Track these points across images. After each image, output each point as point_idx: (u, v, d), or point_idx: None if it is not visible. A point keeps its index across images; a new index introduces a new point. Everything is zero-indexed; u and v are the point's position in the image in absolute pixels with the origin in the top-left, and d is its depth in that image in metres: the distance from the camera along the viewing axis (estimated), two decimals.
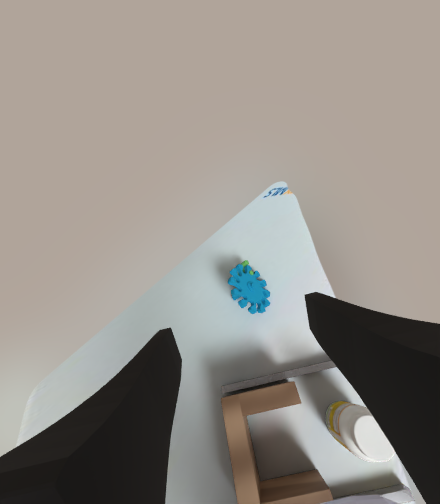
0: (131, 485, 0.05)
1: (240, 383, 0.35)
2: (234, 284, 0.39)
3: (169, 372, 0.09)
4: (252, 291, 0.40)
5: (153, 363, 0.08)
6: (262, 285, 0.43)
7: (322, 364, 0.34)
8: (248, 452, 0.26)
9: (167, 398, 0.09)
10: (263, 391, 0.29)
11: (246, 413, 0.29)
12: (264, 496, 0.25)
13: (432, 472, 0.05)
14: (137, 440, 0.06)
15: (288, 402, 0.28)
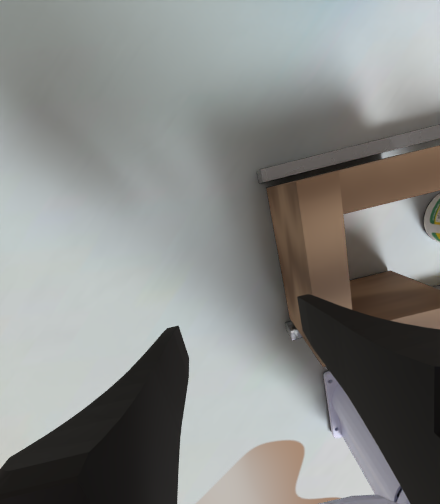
0: (146, 481, 0.05)
1: (301, 162, 0.17)
2: None
3: (178, 370, 0.09)
4: None
5: (163, 361, 0.08)
6: None
7: None
8: (346, 270, 0.14)
9: (176, 396, 0.09)
10: (400, 162, 0.12)
11: (352, 207, 0.13)
12: None
13: (416, 476, 0.05)
14: (150, 437, 0.06)
15: None
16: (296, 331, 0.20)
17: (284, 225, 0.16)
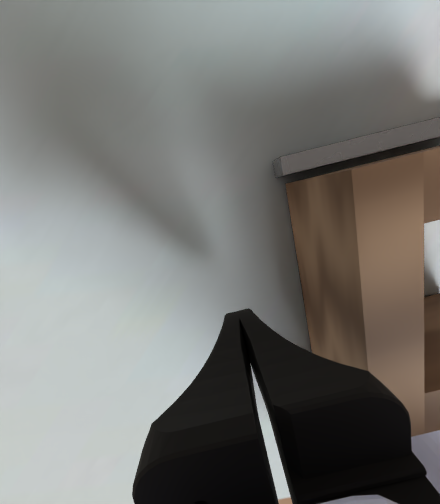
0: (265, 453, 0.05)
1: (337, 147, 0.12)
2: None
3: (246, 353, 0.09)
4: None
5: (241, 342, 0.08)
6: None
7: None
8: (420, 309, 0.09)
9: (250, 378, 0.09)
10: None
11: (439, 213, 0.08)
12: None
13: None
14: (255, 412, 0.06)
15: None
16: None
17: (315, 236, 0.11)
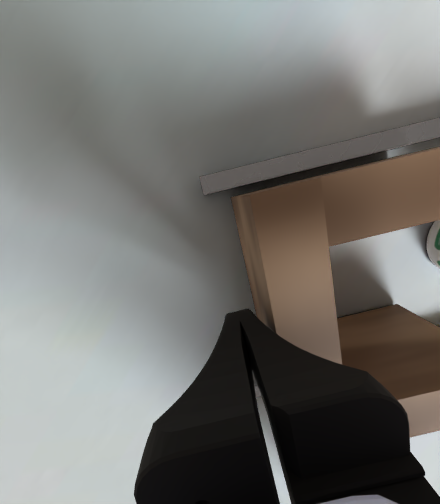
0: (266, 453, 0.05)
1: (256, 167, 0.12)
2: None
3: (247, 353, 0.09)
4: None
5: (242, 341, 0.08)
6: None
7: None
8: (334, 330, 0.09)
9: (251, 378, 0.09)
10: (423, 163, 0.07)
11: (343, 236, 0.08)
12: None
13: None
14: (257, 411, 0.06)
15: None
16: None
17: (248, 252, 0.11)
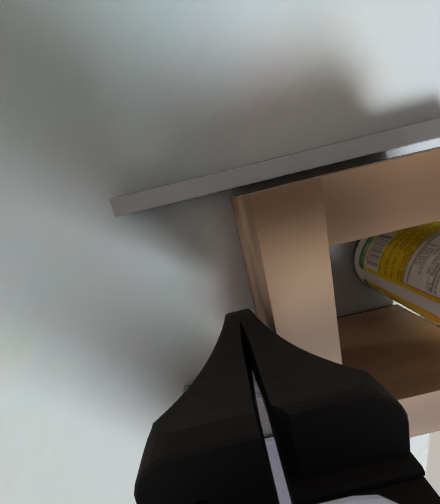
0: (266, 453, 0.05)
1: (166, 189, 0.12)
2: None
3: (247, 353, 0.09)
4: None
5: (242, 341, 0.08)
6: None
7: (401, 132, 0.12)
8: (334, 330, 0.09)
9: (251, 378, 0.09)
10: (423, 164, 0.07)
11: (343, 237, 0.08)
12: None
13: None
14: (257, 411, 0.06)
15: None
16: None
17: (248, 252, 0.11)
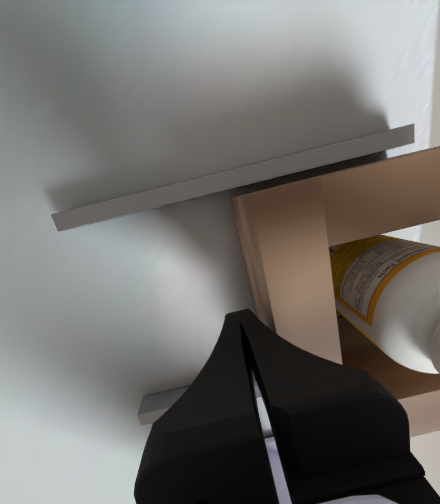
0: (266, 453, 0.05)
1: (107, 204, 0.12)
2: None
3: (247, 353, 0.09)
4: None
5: (242, 341, 0.08)
6: None
7: (341, 146, 0.12)
8: (334, 330, 0.09)
9: (251, 378, 0.09)
10: (422, 163, 0.07)
11: (343, 237, 0.08)
12: None
13: None
14: (256, 411, 0.06)
15: None
16: (145, 415, 0.16)
17: (248, 253, 0.11)
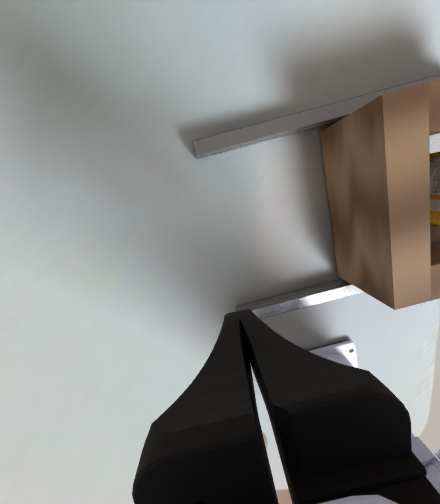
0: (265, 453, 0.05)
1: (234, 133, 0.16)
2: None
3: (246, 353, 0.09)
4: None
5: (241, 342, 0.08)
6: None
7: (411, 86, 0.16)
8: (427, 198, 0.13)
9: (250, 378, 0.09)
10: None
11: (439, 125, 0.12)
12: None
13: None
14: (256, 412, 0.06)
15: None
16: None
17: (347, 163, 0.15)
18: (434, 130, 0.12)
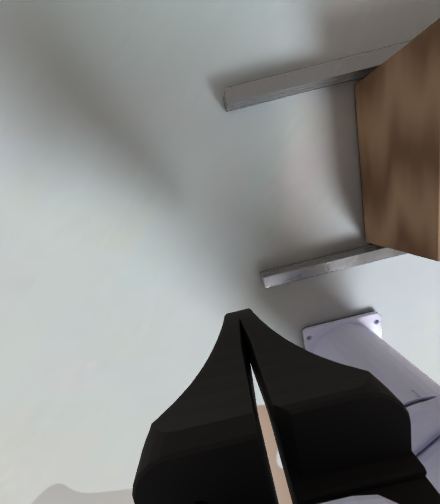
0: (265, 453, 0.05)
1: (269, 80, 0.15)
2: None
3: (246, 353, 0.09)
4: None
5: (241, 342, 0.08)
6: None
7: None
8: None
9: (250, 378, 0.09)
10: None
11: None
12: None
13: None
14: (255, 412, 0.06)
15: None
16: (270, 278, 0.19)
17: (388, 110, 0.15)
18: None
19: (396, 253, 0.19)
